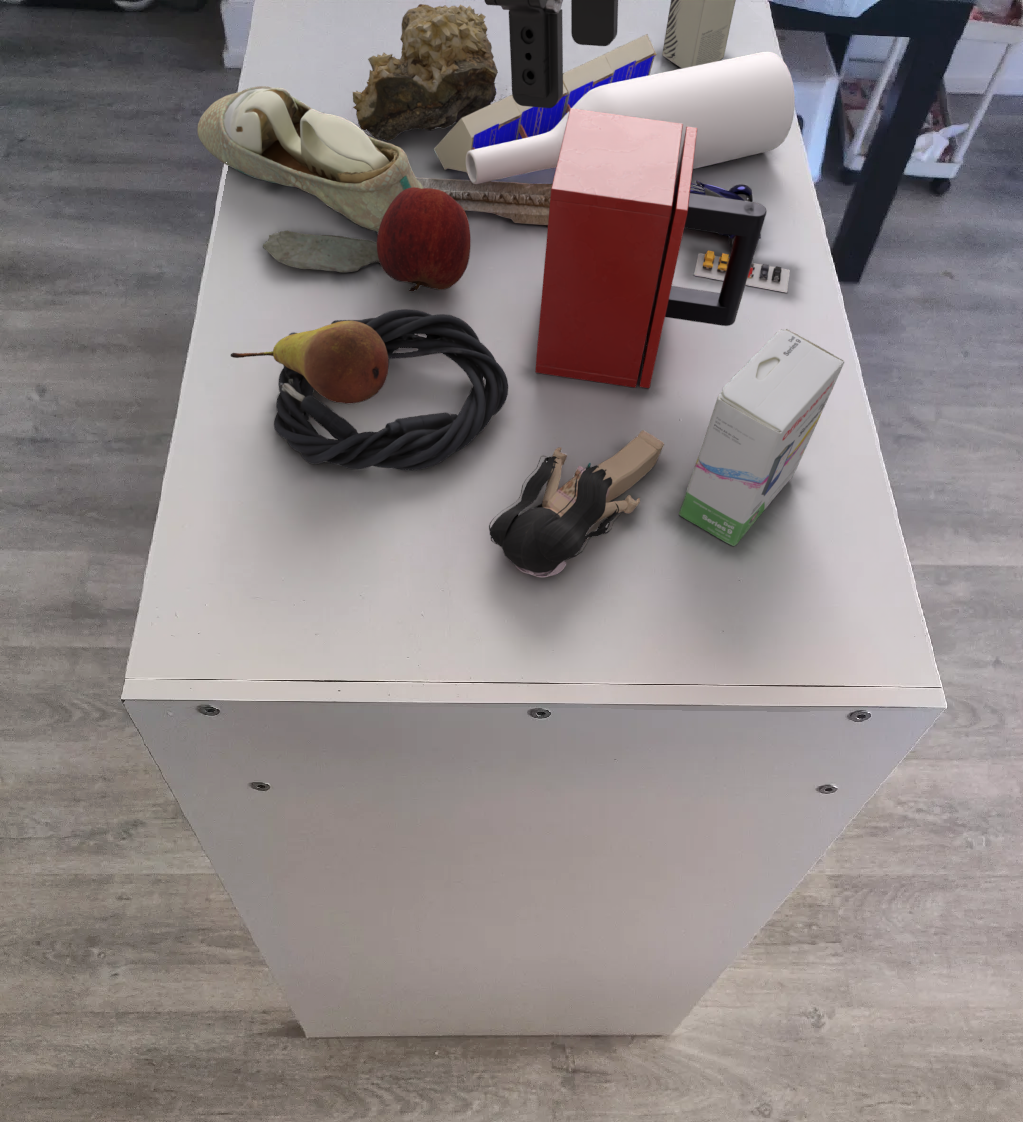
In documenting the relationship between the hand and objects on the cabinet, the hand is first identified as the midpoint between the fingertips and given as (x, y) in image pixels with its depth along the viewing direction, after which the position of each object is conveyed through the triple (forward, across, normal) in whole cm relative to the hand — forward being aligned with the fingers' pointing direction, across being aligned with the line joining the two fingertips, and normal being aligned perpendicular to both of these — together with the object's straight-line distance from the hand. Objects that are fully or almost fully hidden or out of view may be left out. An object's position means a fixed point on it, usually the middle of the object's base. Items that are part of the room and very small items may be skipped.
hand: (567, 71), depth 49 cm
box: (+20, +64, +8) cm, 68 cm away
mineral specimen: (+19, +43, +29) cm, 56 cm away
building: (+17, +45, +18) cm, 51 cm away
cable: (+26, +6, +16) cm, 32 cm away
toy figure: (+30, +3, 0) cm, 30 cm away
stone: (+22, +23, +29) cm, 43 cm away
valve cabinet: (+26, +20, +5) cm, 34 cm away
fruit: (+20, +2, +14) cm, 25 cm away
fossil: (+22, +33, +18) cm, 44 cm away
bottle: (+19, +52, -2) cm, 55 cm away
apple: (+24, +21, +20) cm, 37 cm away
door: (+27, +22, -2) cm, 35 cm away
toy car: (+24, +38, +1) cm, 45 cm away
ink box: (+30, +9, -10) cm, 33 cm away
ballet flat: (+20, +30, +34) cm, 49 cm away
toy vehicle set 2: (+26, +34, -4) cm, 43 cm away
